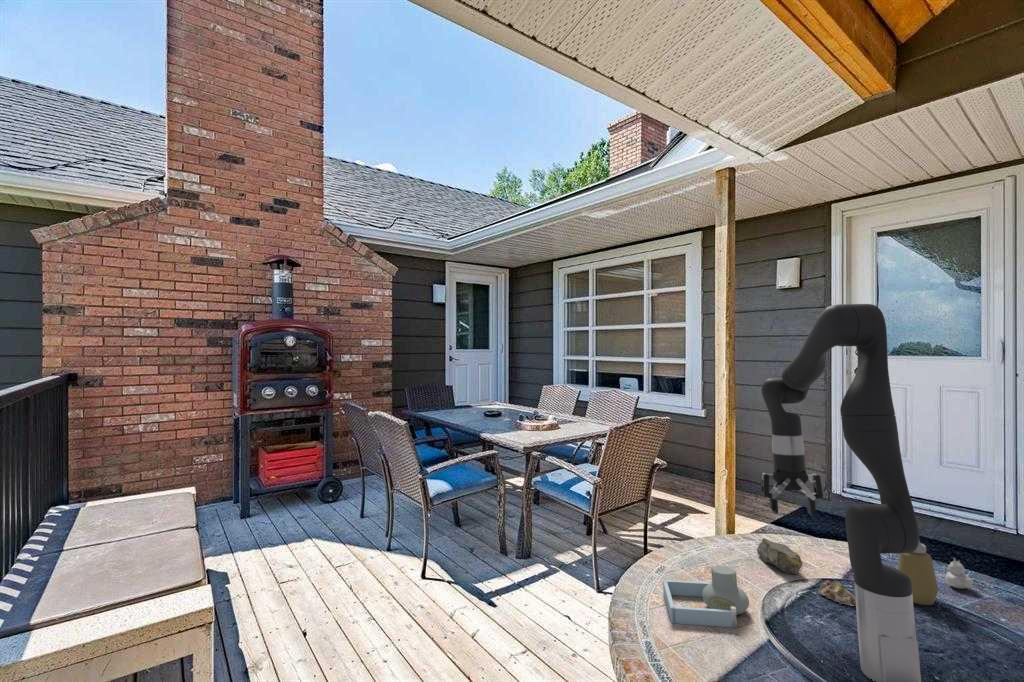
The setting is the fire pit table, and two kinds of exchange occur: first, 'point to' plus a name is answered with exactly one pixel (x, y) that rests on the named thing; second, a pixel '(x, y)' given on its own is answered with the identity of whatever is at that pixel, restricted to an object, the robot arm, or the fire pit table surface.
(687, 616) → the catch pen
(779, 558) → the rock
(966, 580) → the rubber duck
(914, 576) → the squeeze bottle
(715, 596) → the air freshener
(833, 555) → the fire pit table surface
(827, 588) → the mineral rock
